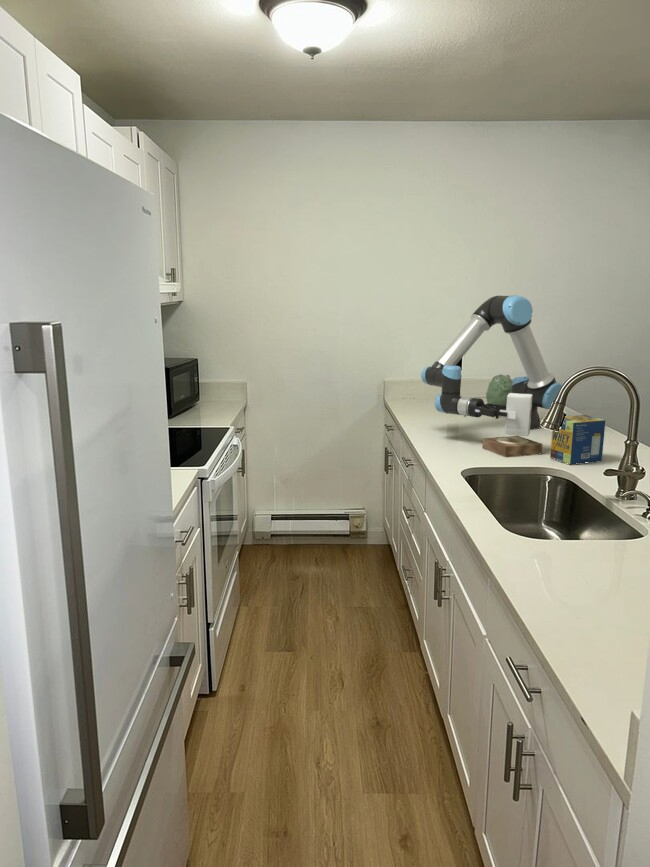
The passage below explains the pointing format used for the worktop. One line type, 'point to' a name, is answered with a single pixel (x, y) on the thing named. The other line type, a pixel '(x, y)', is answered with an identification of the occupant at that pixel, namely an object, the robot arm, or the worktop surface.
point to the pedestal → (512, 446)
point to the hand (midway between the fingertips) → (523, 413)
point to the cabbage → (499, 389)
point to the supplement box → (519, 414)
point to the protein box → (578, 440)
